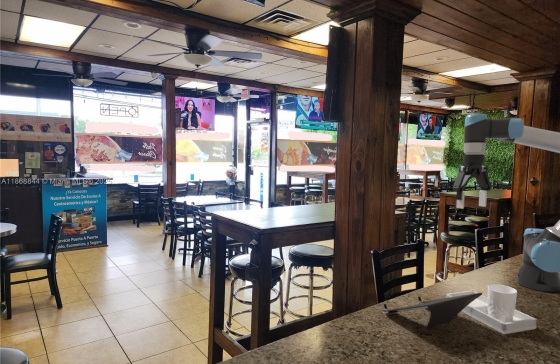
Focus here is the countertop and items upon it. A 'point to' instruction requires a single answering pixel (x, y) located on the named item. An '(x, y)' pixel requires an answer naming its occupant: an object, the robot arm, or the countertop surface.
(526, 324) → the white divided tray
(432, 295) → the countertop surface
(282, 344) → the countertop surface
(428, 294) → the countertop surface
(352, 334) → the countertop surface
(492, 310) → the white cup
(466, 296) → the portable electronic device stand
